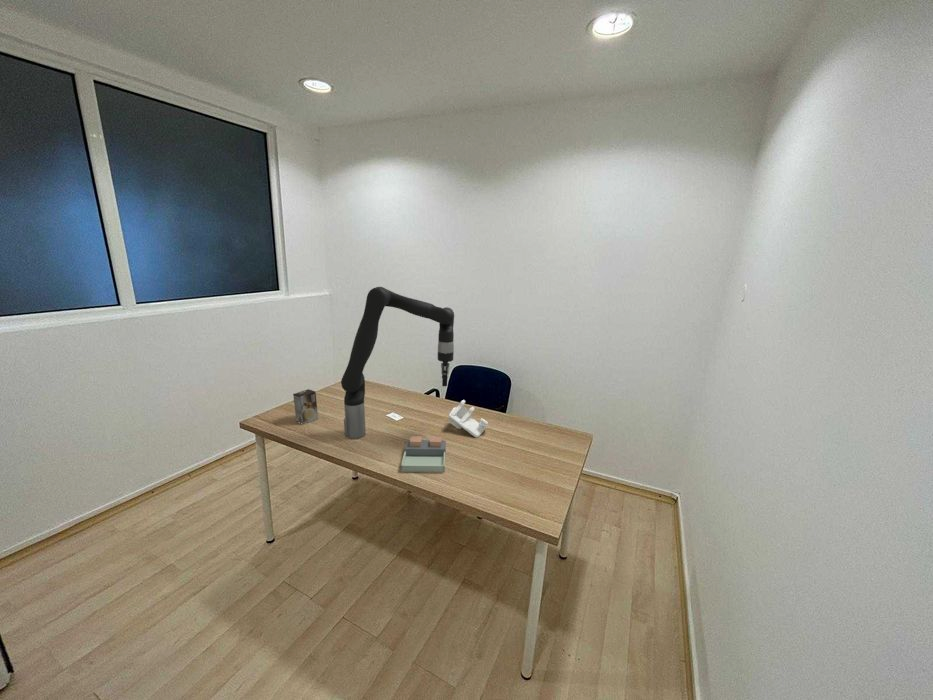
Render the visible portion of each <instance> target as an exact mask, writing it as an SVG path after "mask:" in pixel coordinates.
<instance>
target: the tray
mask: <svg viewBox="0 0 933 700" xmlns="http://www.w3.org/2000/svg"><path fill="white" fill-rule="evenodd" d="M445 469H446V452H444V457H428V456H406V451H405V450H404V453H403V457H402V460H401V464H400V472H401V473H439V474H440V473H442V474H443V473H445Z"/></svg>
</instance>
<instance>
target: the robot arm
mask: <svg viewBox="0 0 933 700" xmlns="http://www.w3.org/2000/svg"><path fill="white" fill-rule="evenodd" d="M385 307H390V308H395V309H399V310H402V311H405V312H407V313H408V314H411V315H413V316H417V317H420V318H424V319H428V320H431V321H434V322H436V323H439V330H438V339H437V340H438V343H437V361H439V362H441V363H440V364H441V365H440V368H441V370H440V372H441V379H442V381H441V382H442V385H441V386H442V387H448V378H449V376H448V375H449V373H450V371H449V370H450V363H449V362H452V361H454V351H455V350H454V349H455V348H454V323H455V321H454V320H455V312H454V310H453V309H452V308H451V307H439V306H436V305H434V304H432V303H430V302H426V301H423V300H419V299H416V298H412V297H408V296H404V295H401V294H398V293H396V292H394V291H392V290H390V289H387V288H385V287H383V286H376V287H373V288H371V289H370V290H369V291H368V293H367V296H366V301H365V305H364V311H363V314H362V317H361V320H360V322H359V326H358V329H357V330H356V334H355V337H354V339H353V340H354V341H353V344H352V348H351V352H350V356H349V361H348V363H347V366H346V368H345V371H344V373H343V375H342V377H341V379H340V382H341V387H342V389H343V390H344V391H345V395H344V399H343V402H344V419H343V426H344V427H343V428H344V438H348V439H351V440H356V439H360V438H363V437H364V436H366V434H367V433H366V432H367V430H366V413H365V395H366V389H365V388H366V381H365V380H366V379H365V375H364V373H363V372H364V368H365V367H366V364H367V362H368V360H369V359H370V357H371V355H372V352H373V350H374V348H375V344H376V342H377V338H378V332H379V322H380V318H381V316H382V313H383V311H384V309H385Z"/></svg>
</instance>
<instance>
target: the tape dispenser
mask: <svg viewBox="0 0 933 700" xmlns="http://www.w3.org/2000/svg"><path fill="white" fill-rule="evenodd" d="M465 403H466V400H465V399H463V400H461V401H460V402H459V404H458V406H454V407H453V408H452V409H451V411H450V412H449V413H448V417H449V419H447V422H449V423H450V424H451V425H453V426H454V427H455V428H456V429H457V430H461V429H462V428H463V429H464V430H465V431H467V433H469V434H470V435H471V436H473V437H474V438H477V439H478V438H479V437H480V436H481V435H482V434H483V432H484V431H485V430H486V429H487V427H488V425H489V422H488V421H487V420H485V419H484V418H480V419H479V421H477V420H476V419H474V418H471V417H470V416H471V414H472V413H473V412H474V410H475V409H476V407H474V406H471V407H469V409H467V408H466V407H465V406H464V405H465Z"/></svg>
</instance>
